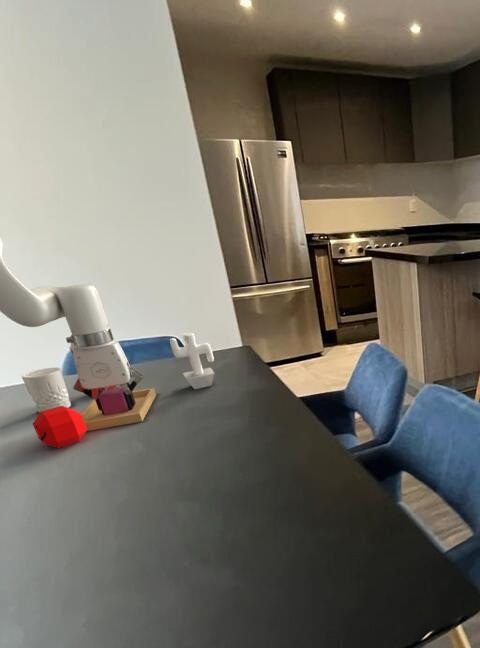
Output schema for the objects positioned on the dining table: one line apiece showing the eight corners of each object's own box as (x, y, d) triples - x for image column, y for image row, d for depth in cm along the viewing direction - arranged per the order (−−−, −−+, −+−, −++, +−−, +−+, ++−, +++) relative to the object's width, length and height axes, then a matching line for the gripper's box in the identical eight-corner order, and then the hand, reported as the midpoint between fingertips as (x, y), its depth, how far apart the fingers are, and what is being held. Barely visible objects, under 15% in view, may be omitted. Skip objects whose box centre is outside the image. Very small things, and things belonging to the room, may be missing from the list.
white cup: (40, 417, 123) (24, 379, 119) (34, 410, 128) (18, 373, 124) (77, 407, 128) (63, 370, 124) (70, 400, 133) (56, 365, 129)
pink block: (104, 415, 119) (97, 396, 117) (110, 408, 124) (103, 390, 122) (128, 411, 121) (121, 392, 119) (132, 405, 125) (126, 386, 123)
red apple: (40, 444, 107) (26, 412, 104) (83, 431, 113) (71, 400, 110) (48, 454, 102) (34, 421, 99) (93, 440, 108) (80, 408, 105)
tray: (75, 433, 112) (72, 424, 111) (98, 404, 129) (95, 397, 128) (142, 421, 116) (139, 413, 115) (156, 395, 133) (154, 387, 132)
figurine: (221, 384, 138) (208, 332, 132) (185, 392, 133) (169, 339, 128) (217, 378, 144) (204, 328, 138) (182, 386, 139) (167, 334, 133)
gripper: (45, 348, 109) (74, 422, 116) (131, 337, 115) (154, 408, 122) (56, 340, 116) (83, 411, 123) (138, 330, 121) (159, 399, 128)
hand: (118, 409), depth 122 cm, fingers closed on pink block, 4 cm apart
